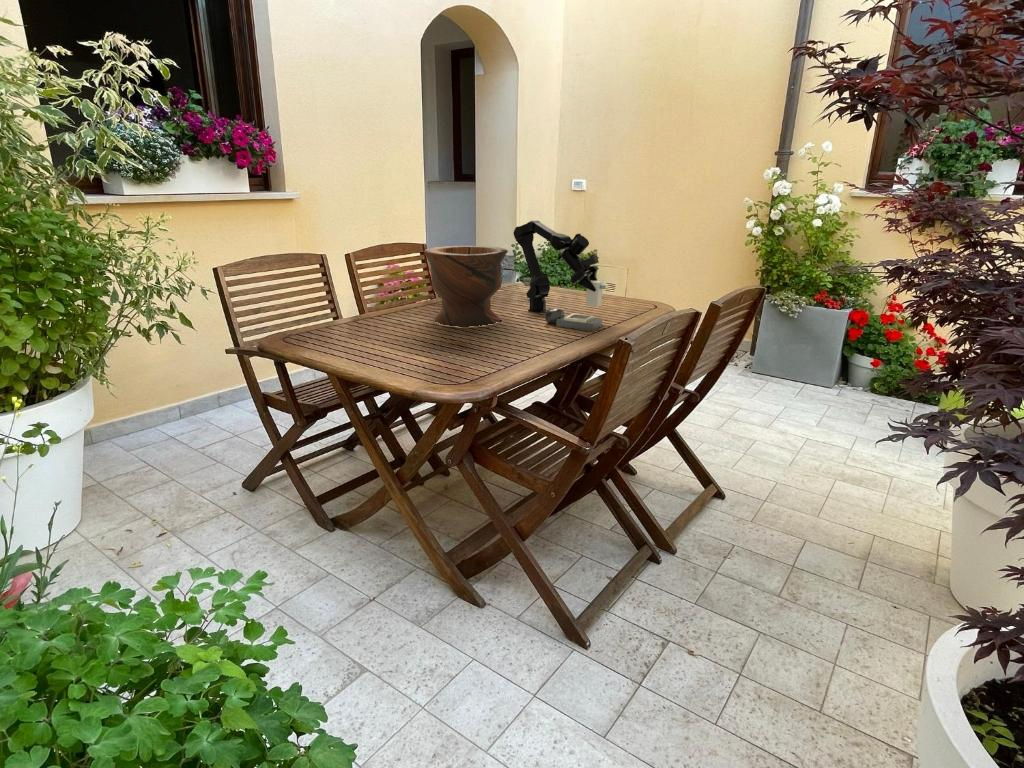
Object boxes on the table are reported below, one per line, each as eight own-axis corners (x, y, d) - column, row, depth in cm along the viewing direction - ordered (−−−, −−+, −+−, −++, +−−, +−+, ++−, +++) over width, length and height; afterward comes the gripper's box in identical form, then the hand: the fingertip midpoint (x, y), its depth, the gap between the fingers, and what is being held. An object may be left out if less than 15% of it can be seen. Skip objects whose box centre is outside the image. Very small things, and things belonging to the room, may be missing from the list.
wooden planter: (494, 309, 281) (493, 244, 271) (518, 326, 249) (519, 254, 240) (419, 314, 270) (416, 247, 261) (435, 333, 239) (432, 257, 229)
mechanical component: (542, 298, 303) (542, 278, 300) (521, 298, 304) (522, 278, 300) (542, 297, 306) (542, 277, 303) (521, 297, 306) (522, 277, 303)
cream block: (585, 305, 255) (587, 281, 252) (590, 303, 259) (591, 280, 256) (601, 307, 252) (603, 283, 249) (605, 305, 256) (607, 281, 253)
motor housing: (543, 325, 252) (543, 310, 250) (553, 320, 260) (553, 306, 258) (593, 331, 242) (593, 316, 240) (601, 326, 251) (602, 311, 249)
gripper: (578, 250, 242) (603, 280, 241) (595, 245, 258) (618, 274, 257) (560, 269, 248) (584, 298, 247) (577, 263, 264) (600, 291, 263)
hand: (597, 289), depth 253 cm, fingers closed on cream block, 5 cm apart
